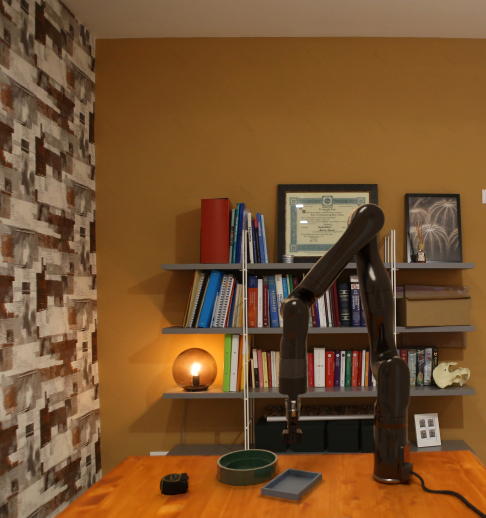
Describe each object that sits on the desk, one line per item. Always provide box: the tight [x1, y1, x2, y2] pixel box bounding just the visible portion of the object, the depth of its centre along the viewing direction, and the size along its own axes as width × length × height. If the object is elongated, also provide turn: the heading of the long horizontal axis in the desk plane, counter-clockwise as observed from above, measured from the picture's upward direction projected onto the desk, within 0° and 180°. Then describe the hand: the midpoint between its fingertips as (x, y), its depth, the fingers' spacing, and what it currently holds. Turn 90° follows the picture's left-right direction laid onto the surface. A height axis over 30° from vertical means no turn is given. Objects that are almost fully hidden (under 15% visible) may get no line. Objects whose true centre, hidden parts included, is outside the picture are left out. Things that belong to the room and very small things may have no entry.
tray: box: [260, 467, 323, 502], centre depth 127 cm, size 10×14×2 cm
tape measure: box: [159, 472, 190, 496], centre depth 124 cm, size 7×7×4 cm
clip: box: [281, 428, 303, 445], centre depth 127 cm, size 5×2×3 cm, turn 100°
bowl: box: [216, 448, 279, 487], centre depth 135 cm, size 16×16×4 cm
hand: (292, 441), depth 127 cm, fingers closed on clip, 2 cm apart
